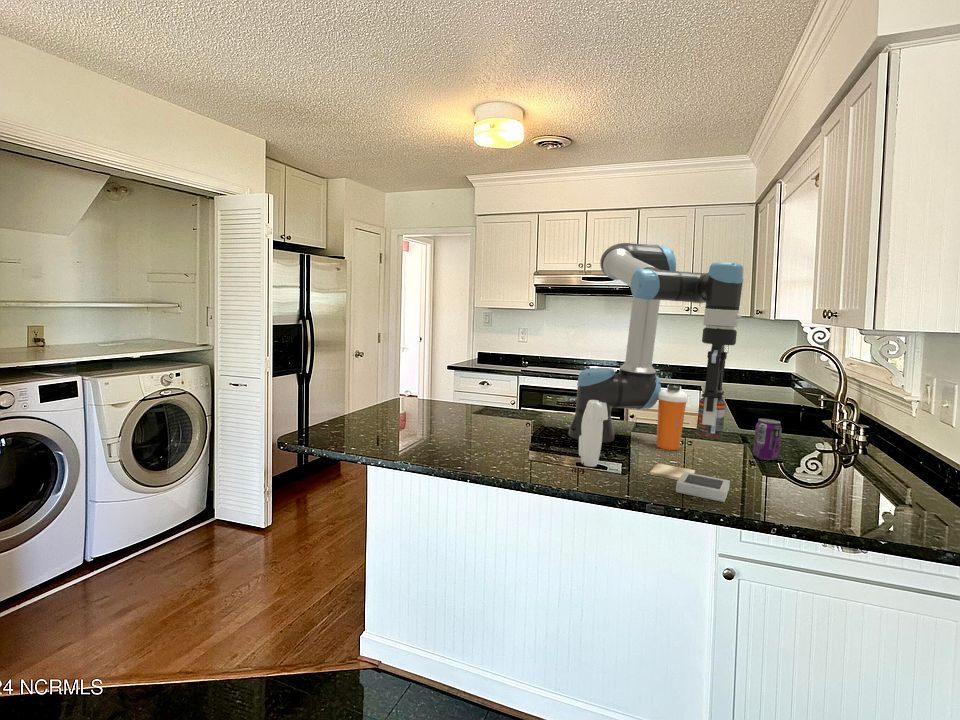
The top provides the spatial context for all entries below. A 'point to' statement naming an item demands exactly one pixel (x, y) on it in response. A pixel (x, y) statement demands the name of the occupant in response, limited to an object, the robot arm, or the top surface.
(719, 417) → the supplement bottle
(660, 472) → the maple coaster
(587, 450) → the white bottle
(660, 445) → the shaker bottle
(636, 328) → the robot arm
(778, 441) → the beverage can
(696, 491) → the grey tray
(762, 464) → the top surface
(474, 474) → the top surface
